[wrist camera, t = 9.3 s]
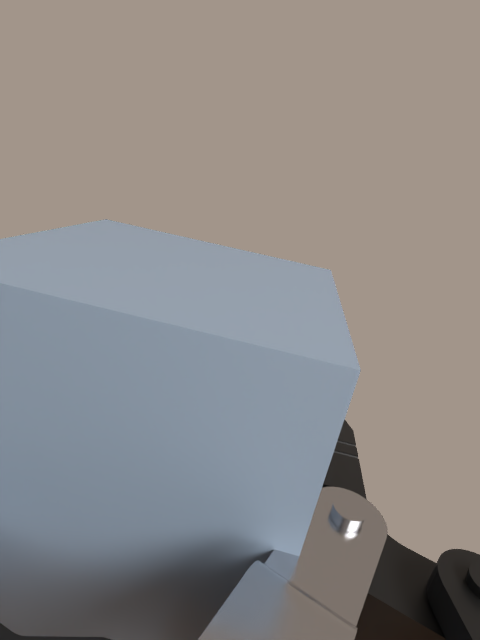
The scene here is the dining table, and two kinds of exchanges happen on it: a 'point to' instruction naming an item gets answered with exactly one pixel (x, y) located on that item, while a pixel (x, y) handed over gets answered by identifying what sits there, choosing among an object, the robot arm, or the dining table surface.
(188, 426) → the block
